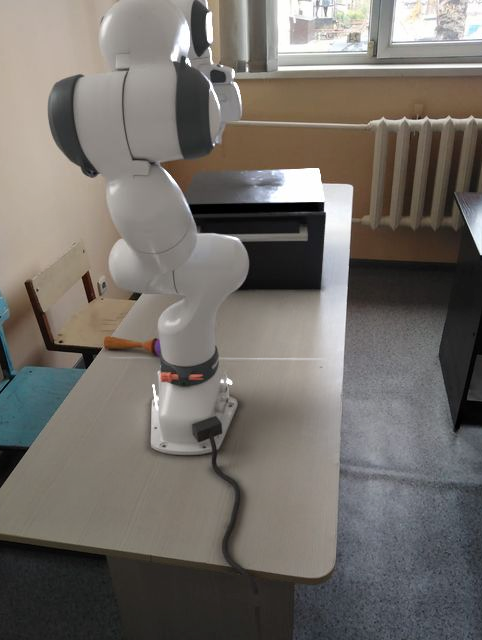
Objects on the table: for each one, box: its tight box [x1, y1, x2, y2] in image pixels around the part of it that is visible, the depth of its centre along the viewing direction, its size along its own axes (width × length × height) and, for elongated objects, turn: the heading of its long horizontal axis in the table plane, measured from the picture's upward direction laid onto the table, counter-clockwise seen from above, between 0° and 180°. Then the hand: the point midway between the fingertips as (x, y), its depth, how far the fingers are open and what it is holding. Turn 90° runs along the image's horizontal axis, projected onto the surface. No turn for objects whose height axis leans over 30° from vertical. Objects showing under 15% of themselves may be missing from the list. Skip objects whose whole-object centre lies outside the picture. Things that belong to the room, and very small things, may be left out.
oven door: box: [192, 211, 327, 291], centre depth 151 cm, size 7×40×26 cm, turn 85°
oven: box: [183, 168, 326, 214], centre depth 169 cm, size 32×40×26 cm
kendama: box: [103, 335, 161, 358], centre depth 135 cm, size 6×6×20 cm
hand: (196, 144), depth 117 cm, fingers open, 8 cm apart
